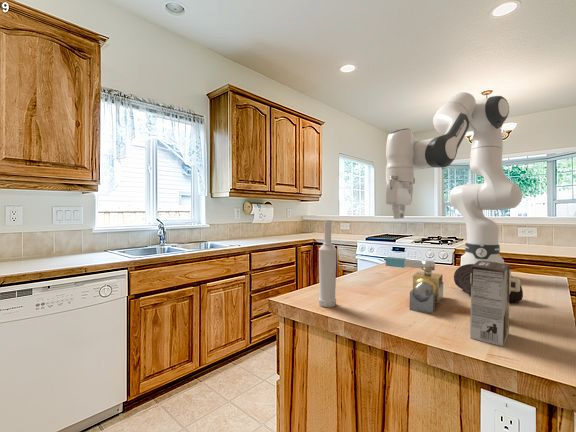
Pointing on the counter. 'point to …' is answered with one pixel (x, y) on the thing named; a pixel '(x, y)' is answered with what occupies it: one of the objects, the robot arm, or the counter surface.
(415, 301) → the valve pipe
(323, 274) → the bottle
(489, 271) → the coffee box
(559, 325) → the counter surface
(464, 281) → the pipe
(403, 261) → the lever
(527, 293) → the counter surface
